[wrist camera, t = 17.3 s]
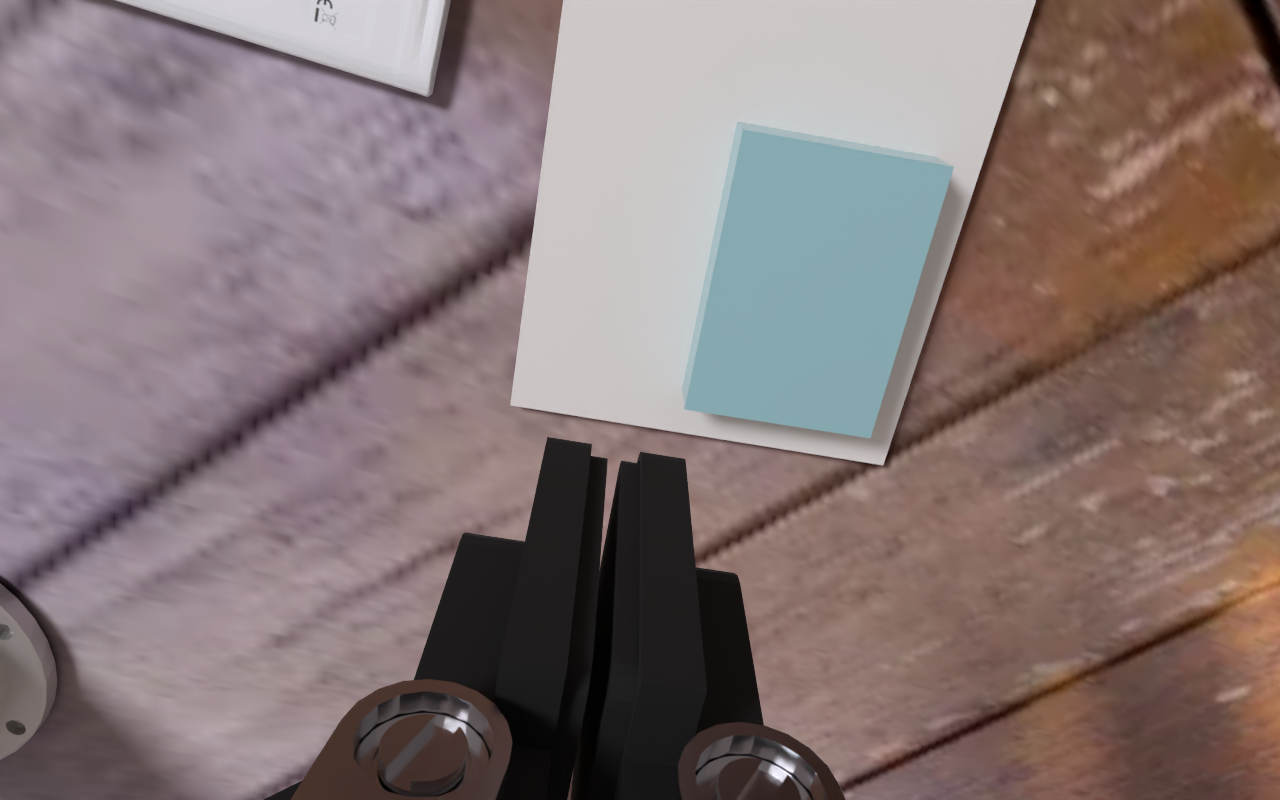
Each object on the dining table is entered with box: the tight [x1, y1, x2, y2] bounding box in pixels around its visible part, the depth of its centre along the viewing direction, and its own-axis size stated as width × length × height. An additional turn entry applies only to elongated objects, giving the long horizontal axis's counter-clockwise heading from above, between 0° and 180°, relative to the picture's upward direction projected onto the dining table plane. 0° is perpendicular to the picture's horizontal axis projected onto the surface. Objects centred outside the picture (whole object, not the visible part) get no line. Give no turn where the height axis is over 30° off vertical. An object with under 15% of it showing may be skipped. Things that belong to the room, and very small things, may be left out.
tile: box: [682, 121, 954, 438], centre depth 32 cm, size 10×2×7 cm
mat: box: [510, 0, 1036, 465], centre depth 32 cm, size 18×15×1 cm
